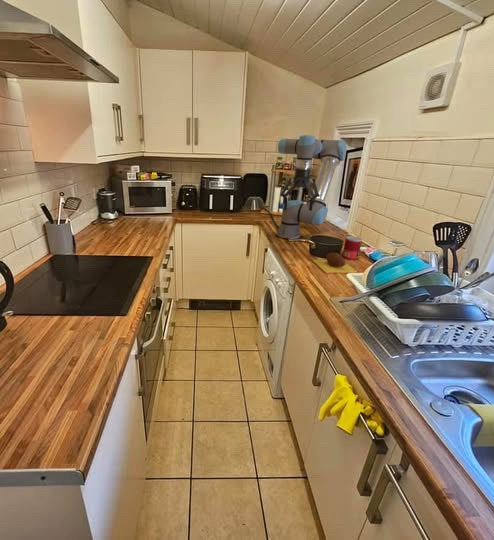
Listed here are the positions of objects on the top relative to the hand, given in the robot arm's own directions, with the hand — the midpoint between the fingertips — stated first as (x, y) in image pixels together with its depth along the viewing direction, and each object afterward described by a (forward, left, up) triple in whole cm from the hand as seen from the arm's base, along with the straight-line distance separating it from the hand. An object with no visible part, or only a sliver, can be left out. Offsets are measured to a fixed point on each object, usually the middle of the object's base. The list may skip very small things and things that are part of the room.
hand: (297, 210), depth 161 cm
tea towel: (+20, +17, -24) cm, 35 cm away
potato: (+20, +17, -23) cm, 35 cm away
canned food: (+6, +30, -24) cm, 39 cm away
